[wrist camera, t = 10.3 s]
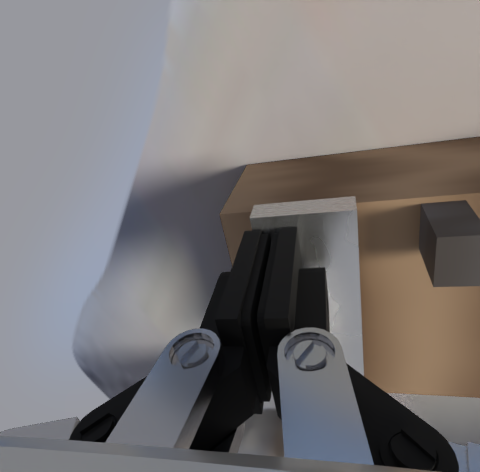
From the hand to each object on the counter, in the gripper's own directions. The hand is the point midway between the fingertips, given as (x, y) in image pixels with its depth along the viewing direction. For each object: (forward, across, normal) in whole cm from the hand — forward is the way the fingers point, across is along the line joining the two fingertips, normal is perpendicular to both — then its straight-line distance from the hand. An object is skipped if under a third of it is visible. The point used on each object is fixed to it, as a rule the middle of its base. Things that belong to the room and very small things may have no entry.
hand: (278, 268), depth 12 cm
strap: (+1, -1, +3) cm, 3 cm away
